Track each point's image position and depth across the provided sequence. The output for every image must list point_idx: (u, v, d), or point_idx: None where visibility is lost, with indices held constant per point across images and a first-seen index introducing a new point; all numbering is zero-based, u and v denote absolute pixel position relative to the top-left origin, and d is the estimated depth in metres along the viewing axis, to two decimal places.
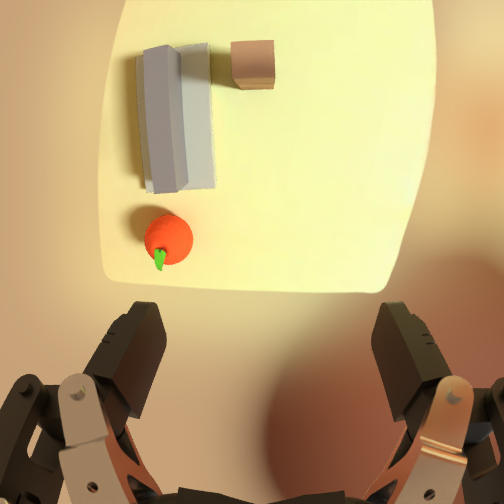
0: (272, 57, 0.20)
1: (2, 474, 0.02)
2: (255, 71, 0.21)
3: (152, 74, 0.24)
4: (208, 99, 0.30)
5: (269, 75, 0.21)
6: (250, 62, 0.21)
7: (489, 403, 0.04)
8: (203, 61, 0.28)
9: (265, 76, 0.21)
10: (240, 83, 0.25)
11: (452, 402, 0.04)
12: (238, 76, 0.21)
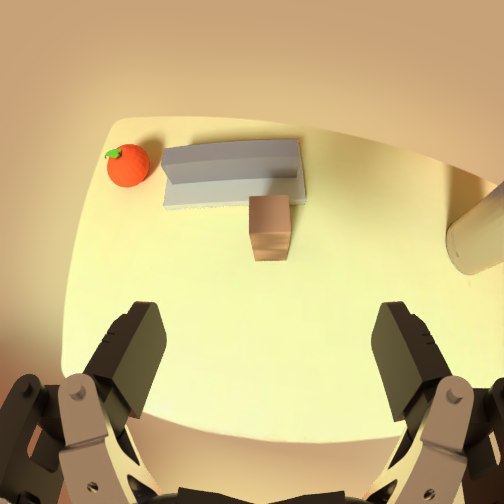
0: (270, 230, 0.26)
1: (2, 474, 0.02)
2: (255, 215, 0.27)
3: (270, 145, 0.33)
4: (245, 200, 0.37)
5: (251, 228, 0.26)
6: (265, 210, 0.27)
7: (489, 404, 0.04)
8: None
9: (249, 224, 0.26)
10: None
11: (452, 402, 0.04)
12: (251, 201, 0.27)
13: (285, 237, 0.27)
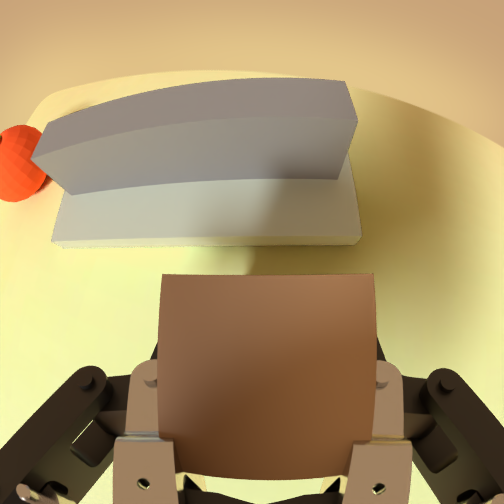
0: (268, 472, 0.04)
1: (33, 464, 0.03)
2: (188, 393, 0.04)
3: (276, 89, 0.11)
4: (210, 235, 0.15)
5: None
6: (246, 372, 0.04)
7: (427, 400, 0.05)
8: (312, 226, 0.14)
9: (163, 430, 0.04)
10: None
11: None
12: (171, 304, 0.05)
13: None
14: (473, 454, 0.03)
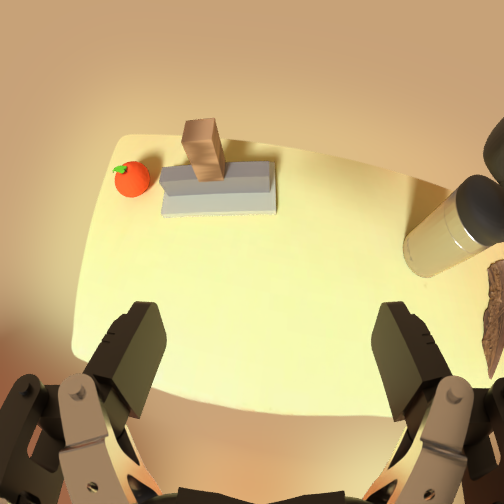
0: (197, 139, 0.32)
1: (2, 474, 0.02)
2: (187, 131, 0.33)
3: (247, 166, 0.42)
4: (227, 211, 0.45)
5: (183, 139, 0.32)
6: (195, 128, 0.33)
7: (489, 404, 0.04)
8: (259, 208, 0.45)
9: (183, 137, 0.33)
10: None
11: (452, 402, 0.04)
12: (187, 123, 0.33)
13: (210, 146, 0.33)
14: None
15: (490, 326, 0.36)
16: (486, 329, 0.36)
